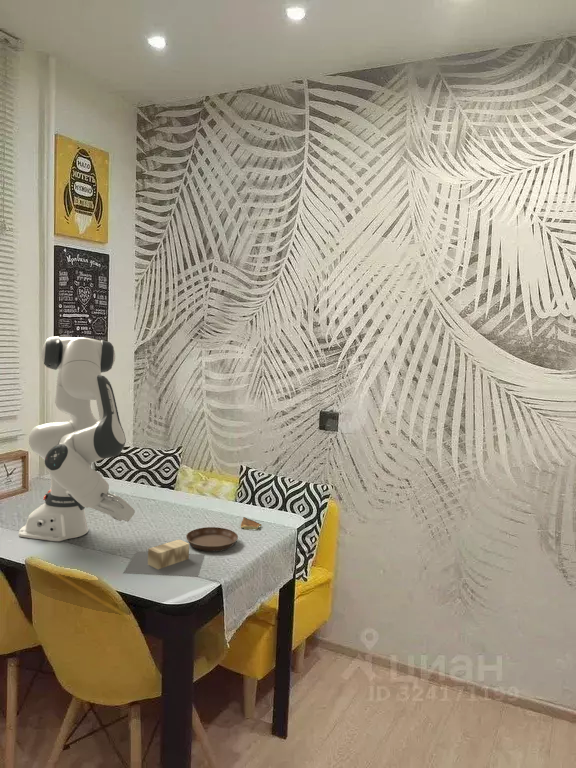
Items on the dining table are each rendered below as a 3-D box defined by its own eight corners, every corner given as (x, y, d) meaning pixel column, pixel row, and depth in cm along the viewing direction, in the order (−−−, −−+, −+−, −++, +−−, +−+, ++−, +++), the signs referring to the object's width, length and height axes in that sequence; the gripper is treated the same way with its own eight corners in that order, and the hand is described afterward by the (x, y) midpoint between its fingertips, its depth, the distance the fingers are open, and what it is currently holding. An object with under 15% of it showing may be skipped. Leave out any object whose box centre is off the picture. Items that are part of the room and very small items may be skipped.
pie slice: (243, 520, 234) (243, 516, 234) (263, 522, 233) (263, 517, 233) (239, 530, 223) (239, 525, 223) (260, 531, 223) (260, 527, 222)
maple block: (158, 553, 180) (189, 543, 189) (148, 548, 183) (179, 539, 193) (158, 569, 181) (188, 558, 190) (147, 564, 184) (178, 554, 193)
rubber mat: (122, 576, 177) (122, 573, 177) (136, 554, 194) (136, 551, 194) (197, 579, 177) (197, 576, 177) (204, 557, 194) (204, 554, 194)
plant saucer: (215, 558, 195) (215, 549, 194) (174, 545, 204) (175, 536, 204) (247, 543, 209) (248, 535, 209) (208, 531, 219) (209, 523, 219)
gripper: (122, 489, 158) (150, 517, 167) (76, 473, 170) (104, 500, 179) (108, 509, 155) (136, 536, 164) (62, 491, 167) (91, 518, 176)
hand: (119, 517), depth 171 cm, fingers closed
